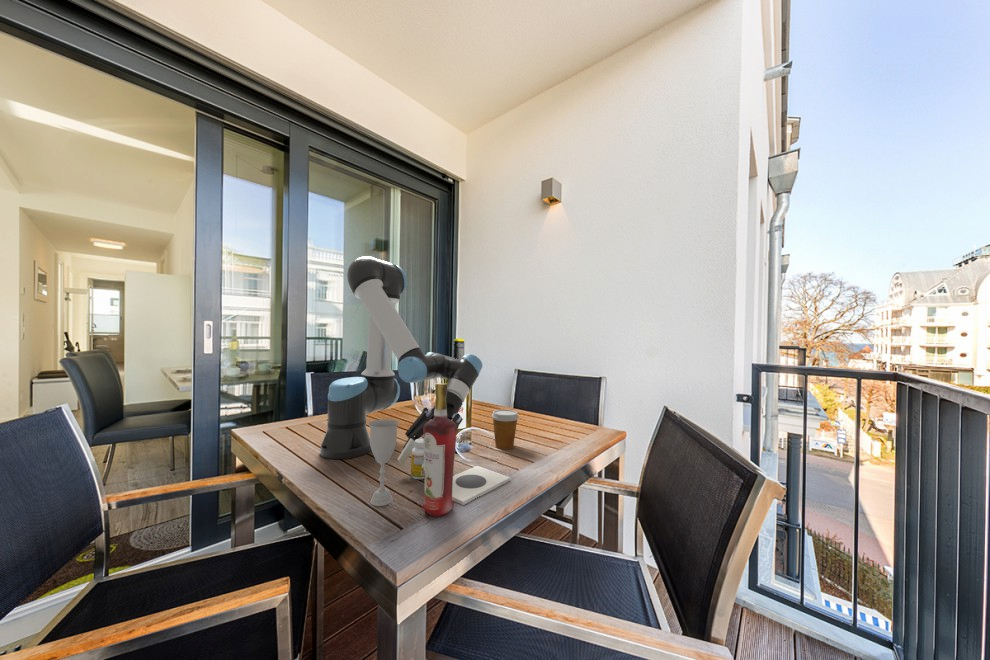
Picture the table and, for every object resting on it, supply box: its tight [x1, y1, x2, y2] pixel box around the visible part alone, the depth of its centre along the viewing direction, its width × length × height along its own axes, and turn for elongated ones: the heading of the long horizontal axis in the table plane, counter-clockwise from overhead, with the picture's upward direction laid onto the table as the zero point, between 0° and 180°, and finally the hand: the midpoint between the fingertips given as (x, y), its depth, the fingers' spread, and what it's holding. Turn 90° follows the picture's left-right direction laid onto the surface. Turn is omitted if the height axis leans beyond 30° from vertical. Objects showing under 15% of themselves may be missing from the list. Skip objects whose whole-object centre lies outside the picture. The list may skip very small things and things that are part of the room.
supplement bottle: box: [410, 437, 425, 480], centre depth 94 cm, size 5×5×10 cm
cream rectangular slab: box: [452, 465, 511, 506], centre depth 89 cm, size 18×12×1 cm, turn 141°
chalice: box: [368, 418, 400, 507], centre depth 79 cm, size 7×7×18 cm
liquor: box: [422, 382, 458, 518], centre depth 75 cm, size 7×7×28 cm
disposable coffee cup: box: [491, 409, 520, 450], centre depth 120 cm, size 10×10×12 cm
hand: (412, 465), depth 91 cm, fingers open, 8 cm apart
